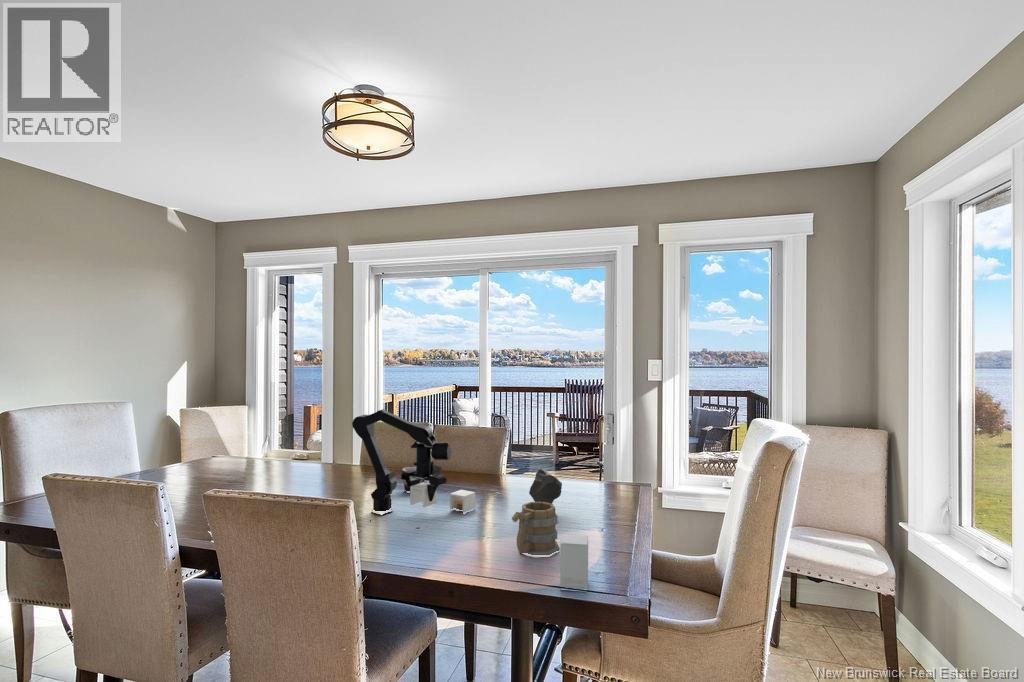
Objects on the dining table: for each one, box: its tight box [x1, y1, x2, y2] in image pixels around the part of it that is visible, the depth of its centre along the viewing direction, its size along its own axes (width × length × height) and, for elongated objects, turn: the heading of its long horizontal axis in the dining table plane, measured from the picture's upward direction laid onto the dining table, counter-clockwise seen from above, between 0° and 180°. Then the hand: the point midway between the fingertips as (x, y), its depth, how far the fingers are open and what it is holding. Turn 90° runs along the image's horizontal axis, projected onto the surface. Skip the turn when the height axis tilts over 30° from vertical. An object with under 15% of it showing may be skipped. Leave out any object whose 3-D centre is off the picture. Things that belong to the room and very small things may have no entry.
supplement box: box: [559, 533, 589, 590], centre depth 141 cm, size 7×7×13 cm
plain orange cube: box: [456, 499, 463, 510], centre depth 207 cm, size 4×4×4 cm
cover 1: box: [409, 482, 438, 508], centre depth 202 cm, size 7×7×7 cm
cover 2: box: [449, 489, 476, 512], centre depth 207 cm, size 7×7×7 cm
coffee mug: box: [402, 466, 425, 491], centre depth 233 cm, size 12×9×10 cm
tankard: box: [511, 501, 560, 555], centre depth 164 cm, size 20×13×15 cm, turn 141°
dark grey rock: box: [528, 468, 563, 504], centre depth 201 cm, size 14×15×18 cm
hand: (423, 499), depth 202 cm, fingers closed on cover 1, 7 cm apart
